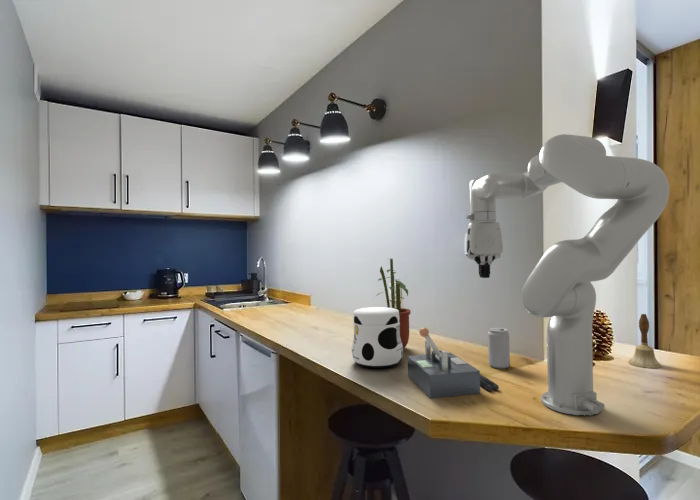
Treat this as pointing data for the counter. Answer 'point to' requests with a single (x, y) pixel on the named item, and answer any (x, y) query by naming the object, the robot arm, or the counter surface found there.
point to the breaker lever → (430, 342)
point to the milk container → (377, 337)
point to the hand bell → (644, 348)
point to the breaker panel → (443, 374)
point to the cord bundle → (488, 383)
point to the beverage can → (498, 348)
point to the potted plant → (397, 303)
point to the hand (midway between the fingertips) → (484, 277)
